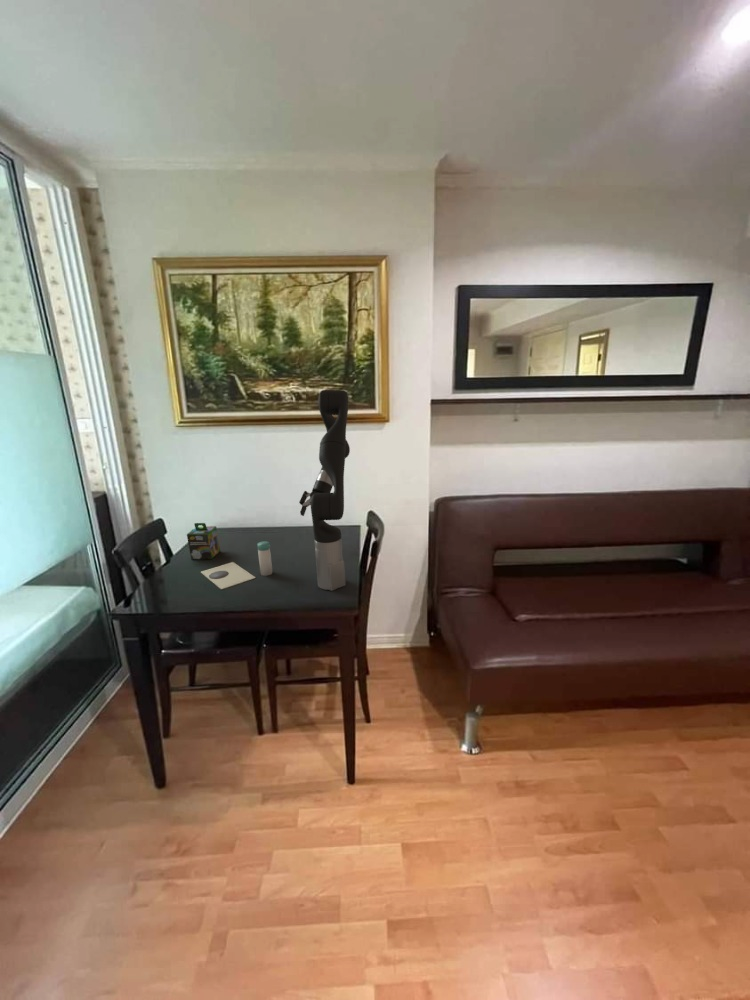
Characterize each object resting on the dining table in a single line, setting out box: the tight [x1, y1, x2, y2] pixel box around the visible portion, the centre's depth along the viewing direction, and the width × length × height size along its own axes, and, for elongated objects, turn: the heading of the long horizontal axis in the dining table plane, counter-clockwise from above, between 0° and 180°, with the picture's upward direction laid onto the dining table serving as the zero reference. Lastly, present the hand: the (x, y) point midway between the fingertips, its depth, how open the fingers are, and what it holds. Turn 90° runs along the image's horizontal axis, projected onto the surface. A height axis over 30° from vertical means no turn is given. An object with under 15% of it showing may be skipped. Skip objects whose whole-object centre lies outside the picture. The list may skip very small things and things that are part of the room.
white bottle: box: [256, 540, 273, 577], centre depth 164 cm, size 4×4×12 cm
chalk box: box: [186, 522, 221, 560], centre depth 183 cm, size 9×9×15 cm
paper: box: [200, 561, 256, 590], centre depth 165 cm, size 20×13×1 cm, turn 41°
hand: (310, 518), depth 184 cm, fingers open, 8 cm apart
